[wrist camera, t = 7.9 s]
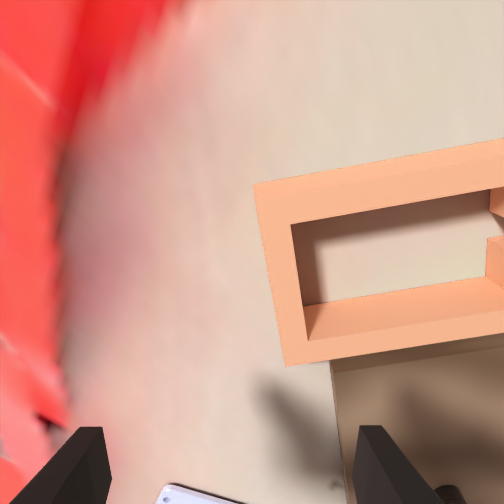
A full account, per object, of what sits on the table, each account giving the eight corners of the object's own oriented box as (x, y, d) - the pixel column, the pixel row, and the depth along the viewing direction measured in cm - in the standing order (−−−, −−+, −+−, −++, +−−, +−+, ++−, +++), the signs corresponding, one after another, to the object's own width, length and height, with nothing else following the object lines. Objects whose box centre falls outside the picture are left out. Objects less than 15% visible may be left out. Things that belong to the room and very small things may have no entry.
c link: (521, 134, 16) (577, 141, 14) (507, 293, 19) (551, 325, 16) (253, 184, 17) (254, 200, 14) (279, 329, 20) (285, 366, 17)
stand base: (522, 516, 26) (535, 534, 25) (351, 537, 27) (356, 557, 25) (549, 324, 20) (567, 337, 19) (328, 358, 21) (333, 373, 20)
